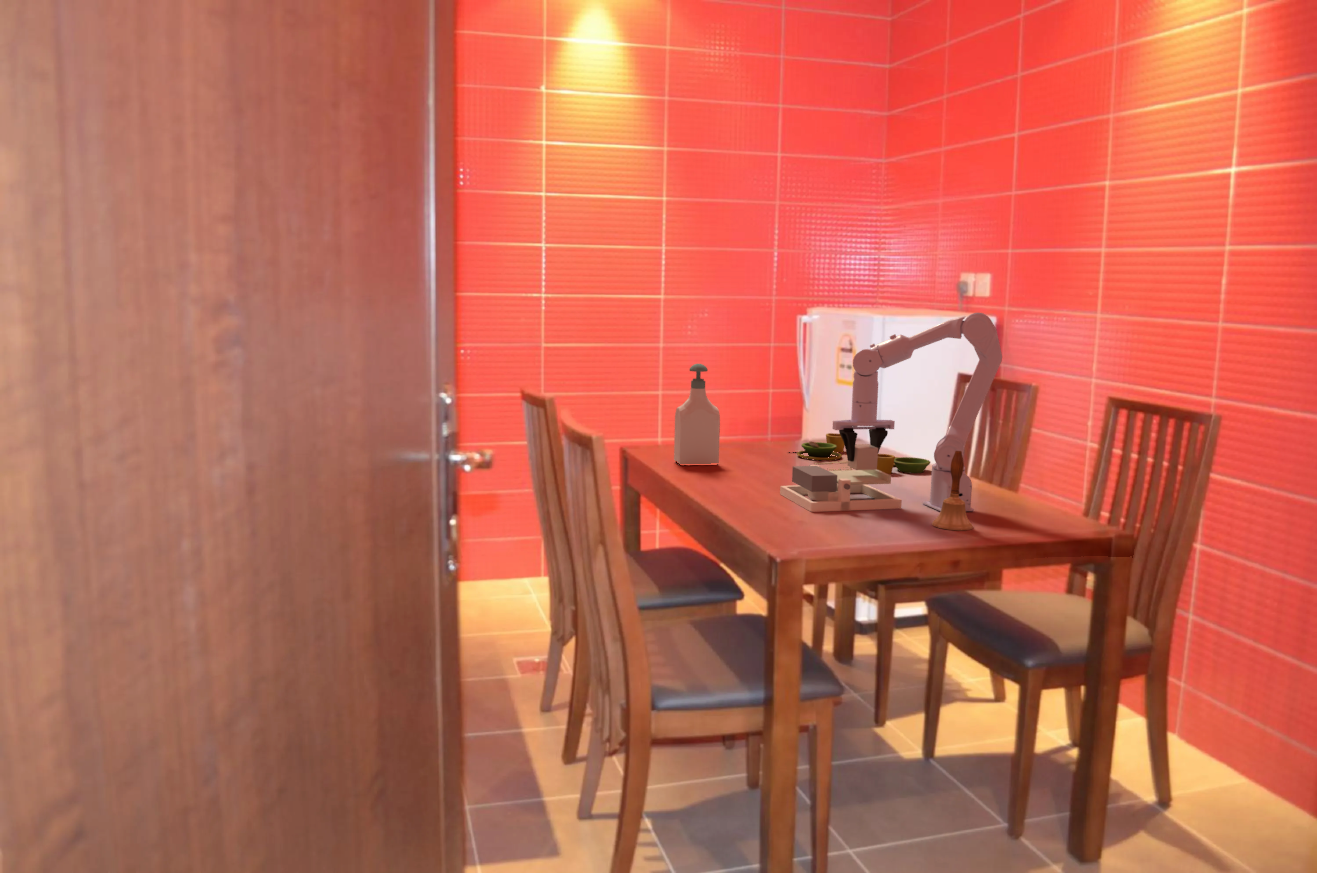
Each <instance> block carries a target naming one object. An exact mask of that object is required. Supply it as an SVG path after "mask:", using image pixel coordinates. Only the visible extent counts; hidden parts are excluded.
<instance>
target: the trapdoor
mask: <svg viewBox="0 0 1317 873" xmlns="http://www.w3.org/2000/svg"><path fill="white" fill-rule="evenodd" d="M818 466H819V465H818ZM818 466H809V465H796V466H795V465H794V466H792V474H791V481H792V482H791V483H793V484H795V485H800V486H801V487H803V488H805V489H807V490H809V491H811V492H822V491H837V484H838V480H839V479H849V480H851V484H850V485H865V484H867V485H888V484H889V485H890V484H891V483H892V482H891V481H892V475H891V474H886V473H884V472H881V471H879V470H855V469H853V470H841V471H832V470H828V469H827V470H826V469H825V468H822V467H821V466H820V467H818Z"/></svg>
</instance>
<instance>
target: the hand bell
mask: <svg viewBox="0 0 1317 873" xmlns="http://www.w3.org/2000/svg"><path fill="white" fill-rule="evenodd" d="M964 462H965V461H964V456H963V457H962V451H955V454H954V456H953V458H952V461H951V476H952V487H951V494H950V497H949V498H947V499H945V500H944V501H943V505H942V509H941V511H939V514H938V516H937V517H936V518H935V519H933V521H932V523H931V525H932V526H934V527H935V528H937V529H938V528H939V529H942V530H949V531H970V530H973V529H974V527H973V524H972V523H971V522H970V520H969V519H968V516H967V511H966V509H965V502H964V501H963V500H961V499H960V498H959V486H960V479H961V476H962V473H963V468H964V466H965V465H964V464H965V463H964Z"/></svg>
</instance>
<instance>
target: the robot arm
mask: <svg viewBox="0 0 1317 873" xmlns="http://www.w3.org/2000/svg"><path fill="white" fill-rule="evenodd" d="M962 335H963V336H962ZM962 337H964V338H965V339H966V340H967V341H968V342H969V343H970V345H972V346H973V348H974V351H975V353H976V355H977V357H978V362H977V364H976V367H975V369H974V371H973V373H972V375H971V378H970V380H969V381H968V382H969V383H968V384H967V387H966V389H965V390H964V393H963V396H962V398H961V401H960V402H959V404H958V408H957V410H956V412H955V414H954V416H953V419H952V420H951V422H950V425H949V427H948V429H947V431H946V434H945V435H944V436H943V437H942V438H941V439H940V440H938V441H937V444H936V445H935V450H934V452H933V458H934V461H935V463H933V464H931V477H930V478H931V480H930V495H929V496H930V497H929V500H927V501H926V500H925V501H922V502H921V503H922V504H923V505H925V506H927V507H930V508H932V509H934V510H936V511H938V512H941V509H942V505H943V501H944V500H945V499H947V498H949V497H950V494H951V487H952V476H951V461H952V458H953V456H954V454H955V451H962V457H963V458H964V454H965V446H966V442H967V440H968V437H969V434H970V433H971V430H972V428H973V426H974V423H975V421H976V419H977V417H978V416H979V415H978V414H979V412H980V410H981V408H982V406H983V403H984V402H985V399H986V397H987V395H988V392H989V390H990V388H991V386H992V383H993V382H994V379H995V376H996V374H997V372H998V370H999V367H1000V366H1001V363H1002V361H1003V353H1002V348H1001V345H1000V340H999V335H998V330H997V328H996V326H995V324H994V323H993V321H992V319H991V318H990V317H989V316H988V315H987V314H985V313H982V312H974V313H971V314H969V315H968V316H965V315H964V316H960V317H955V318H952V319H948V320H945V321H944V322H942V323H939V324H937V325H934V326H932V327H930V328H927V329H925V330H923V331H921V332H919V333H917V334H914V335H912V336H910V337H909V336H906V335H904V334H899V335H896V334H891V335H890V336H889V338H888V339H886V340H884V341H882V342H880V343H877V344H875V343H872V344H870V345H869V347H870V348H864V349H861V350H860V351H858V352H857V353H856V354H855V355H854V357H853V359H852V367H853V369H854V372H853V382H852V396H851V397H852V398H851V418H850V419H843V420H833V421H832V430H834V431H838V434H840V435H841V437H842V440H843V442H844V449H845V453H846V458H847V461H848V460H849V461H854V457H855V444H857V437H858V433H857V432H855V431H856V430H868V434H869V444H870V445H872V446H874V447H877V448H878V454H880V453H879V452H880V449H881V447H882V445H883V442H884V441H885V440H886V438H887V436H888V432H889V431H888V430H895V420H893V419H892V420H891V419H877V418H878V401H879V400H878V398H879V380H878V378H879V371H878V370H879V369H880V368H882V369H887V368H889V367H891V366H894V365H896V364H899V363H901V362H904V361H907V360H909V359H911V357H912V356H913V353H914V351H915V350H918V349H921V348H924V347H925V346H929V345H931V344H935V343H936V342H940V341H942V340H945V339H948V338H949V339H959V340H961V339H962ZM972 482H973V481H972V480H971V478H970V477H969V476H968V474H967V473H966V466H965V465H964V468H963V473H962V476H961V479H960V486H959V498H960V499H961V500H963V501H964V502H965V509H966V512H974V511H975V509H974V508H972V506H971V504H972V490H973V489H972V488H973V483H972Z"/></svg>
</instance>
